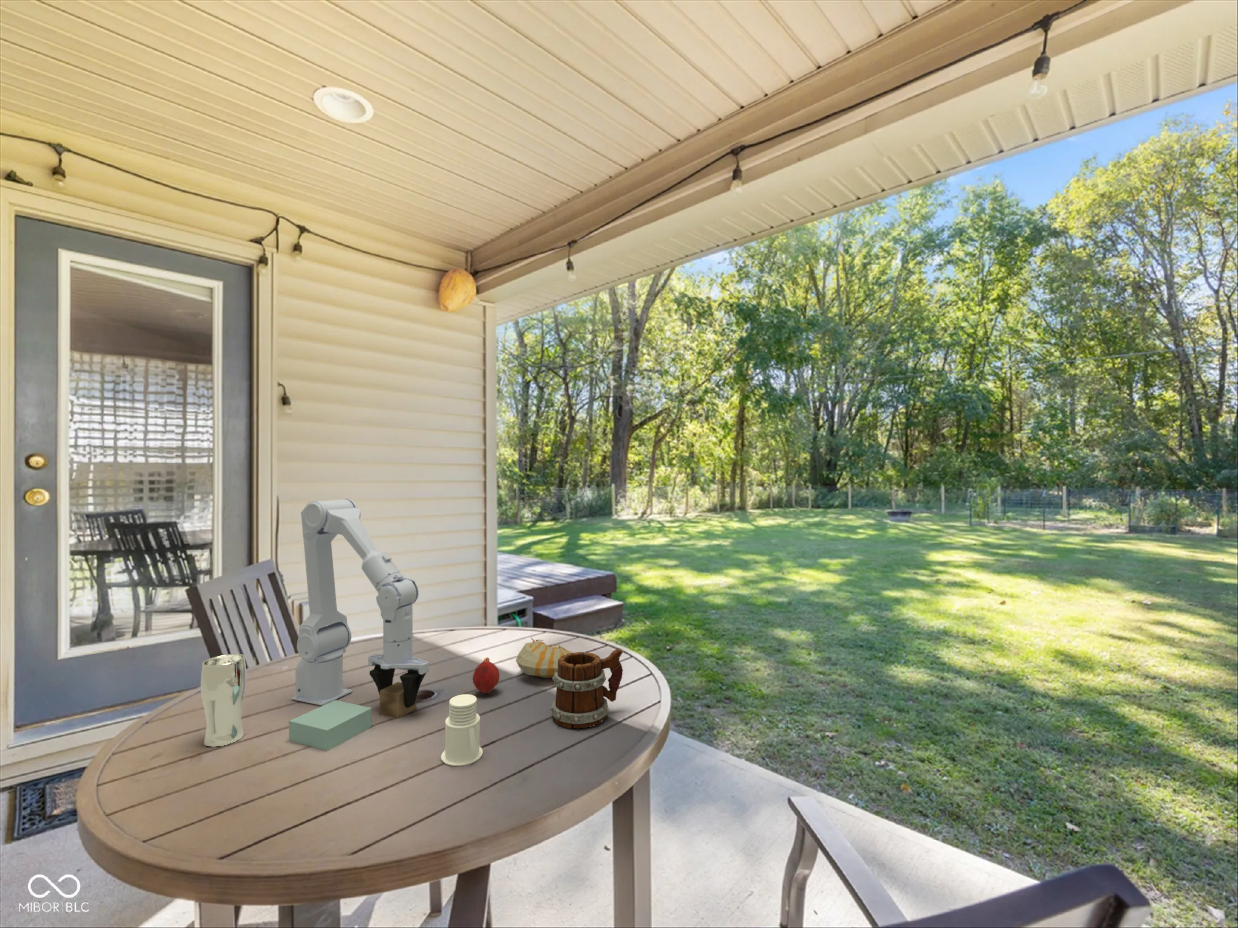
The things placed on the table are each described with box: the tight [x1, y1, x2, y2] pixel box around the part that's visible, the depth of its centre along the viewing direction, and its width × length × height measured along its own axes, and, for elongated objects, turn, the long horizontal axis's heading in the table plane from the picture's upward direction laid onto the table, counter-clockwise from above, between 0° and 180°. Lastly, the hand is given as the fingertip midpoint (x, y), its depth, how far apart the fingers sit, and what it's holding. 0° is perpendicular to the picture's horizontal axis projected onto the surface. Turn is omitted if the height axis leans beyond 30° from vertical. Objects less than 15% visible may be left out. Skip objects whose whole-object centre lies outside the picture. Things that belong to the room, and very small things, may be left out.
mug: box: [549, 648, 624, 729], centre depth 111 cm, size 12×14×15 cm
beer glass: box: [200, 653, 247, 747], centre depth 102 cm, size 7×7×15 cm
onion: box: [472, 657, 500, 695], centre depth 122 cm, size 6×6×8 cm
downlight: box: [440, 693, 483, 767], centre depth 96 cm, size 8×7×10 cm
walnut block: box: [379, 681, 417, 719], centre depth 114 cm, size 5×5×5 cm
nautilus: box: [515, 637, 573, 679], centre depth 136 cm, size 8×22×15 cm
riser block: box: [288, 699, 373, 751], centre depth 104 cm, size 10×10×4 cm
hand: (398, 703), depth 114 cm, fingers open, 6 cm apart
